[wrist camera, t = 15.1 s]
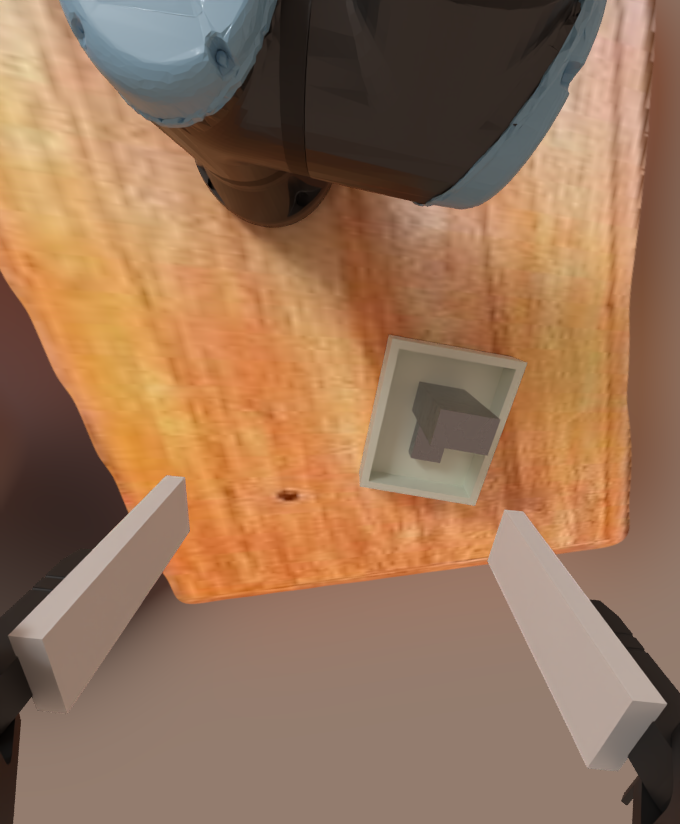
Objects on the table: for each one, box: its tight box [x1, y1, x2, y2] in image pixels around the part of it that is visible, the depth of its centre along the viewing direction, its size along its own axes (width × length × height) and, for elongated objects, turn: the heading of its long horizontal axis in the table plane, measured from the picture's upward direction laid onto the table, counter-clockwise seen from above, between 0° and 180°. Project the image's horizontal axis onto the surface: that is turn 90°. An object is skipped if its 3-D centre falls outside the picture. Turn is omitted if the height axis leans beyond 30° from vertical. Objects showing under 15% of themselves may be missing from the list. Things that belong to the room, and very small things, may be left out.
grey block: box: [408, 381, 500, 463], centre depth 39 cm, size 10×6×11 cm, turn 170°
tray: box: [359, 335, 527, 506], centre depth 43 cm, size 20×16×4 cm
